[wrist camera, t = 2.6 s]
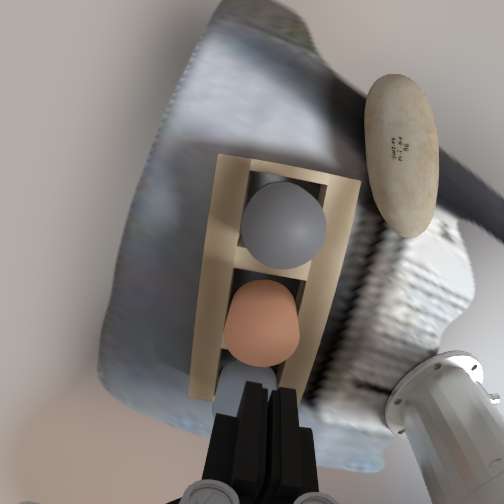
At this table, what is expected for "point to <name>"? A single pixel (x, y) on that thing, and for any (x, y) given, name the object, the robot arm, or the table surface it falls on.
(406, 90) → the stone
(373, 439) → the table surface
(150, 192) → the table surface
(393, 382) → the table surface
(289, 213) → the charcoal button
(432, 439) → the robot arm
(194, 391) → the birch board
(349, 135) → the table surface
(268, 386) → the slate button
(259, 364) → the terracotta button
